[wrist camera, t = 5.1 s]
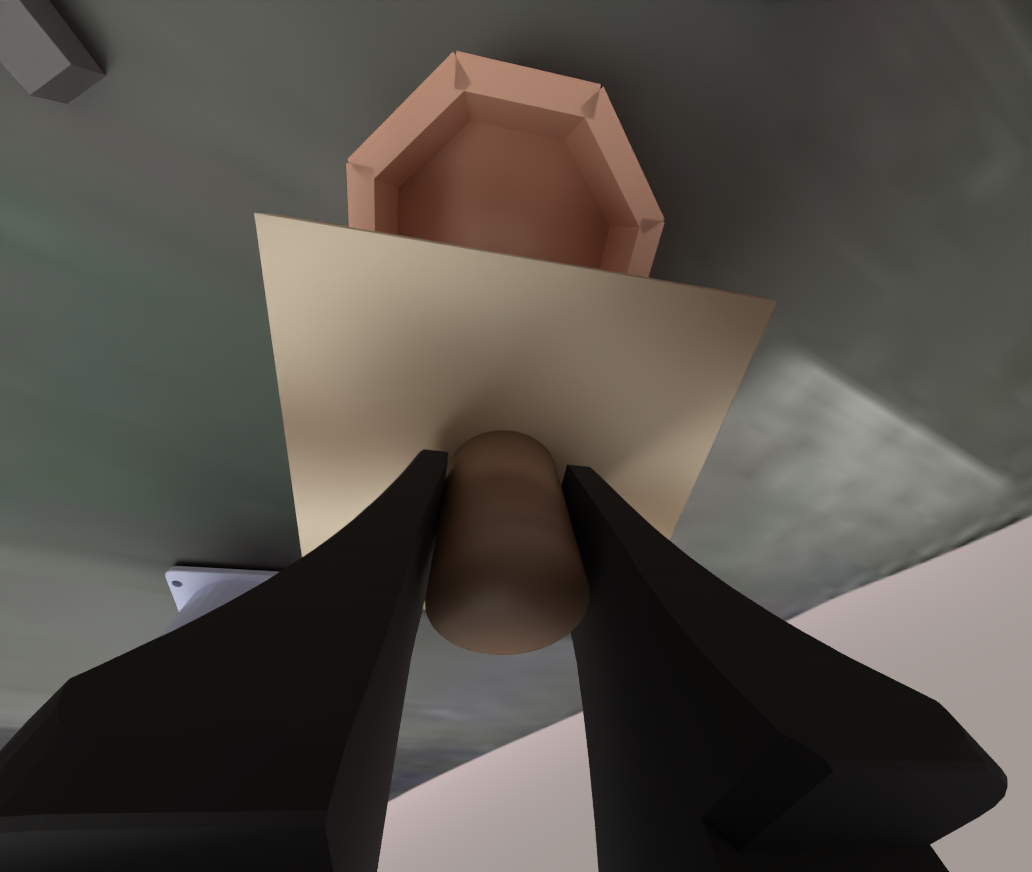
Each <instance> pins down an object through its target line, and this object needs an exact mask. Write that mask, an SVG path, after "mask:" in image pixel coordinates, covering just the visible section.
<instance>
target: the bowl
mask: <svg viewBox="0 0 1032 872" xmlns="http://www.w3.org/2000/svg"><path fill="white" fill-rule="evenodd" d="M600 86H601V84H598V83H593V82H589V81H585V80H580V79H576V78H572V77H567V76H563V75H559V74H554V73H550V72H546V71H541V70H537V69H533V68H528V67H524V66H520V65H515V64H511V63H507V62H503V61H498V60H494V59H490V58H485V57H481V56H477V55H472V54H468V53H464V52H459V51H456V56H455V54H454V52H452V53H451V54H450V55H449V56H448V57H447V58H446V59H445V60H444V61H443V63H442V64H441V65H440V66H439V67H438V68H437V69H436V70H435V71H434V72H433V73H432V74H431V75H430V76H429V77H428V78H427V79H426V80H425V81H424V82H423V83H422V84H421V85H420V86H419V87H418V88H417V89H416V90H415V91H414V92H413V93H412V94H411V95H410V96H409V97H408V98H407V99H406V100H405V101H404V102H403V103H402V104H401V105H400V106H399V107H398V108H397V109H396V110H395V111H394V112H393V113H392V114H391V115H390V116H389V117H388V118H387V119H386V120H385V121H384V123H383V124H382V125H381V126H380V127H379V128H378V129H377V130H376V131H375V132H374V133H373V134H372V135H371V136H370V137H369V138H368V139H367V140H366V141H365V142H364V143H363V144H362V145H361V146H360V147H359V148H358V149H357V150H356V151H355V152H354V153H353V154H352V155H351V156H350V157H349V158H348V159H347V160H348V161H349V162H350V163H346V168H347V191H348V214H349V227H354V228H360V229H366V230H372V231H378V232H384V233H390V234H396V235H402V236H407V237H413V238H419V239H425V240H431V241H437V242H443V243H449V244H455V245H461V246H466V247H472V248H478V249H484V250H490V251H496V252H502V253H508V254H514V255H519V256H525V257H531V258H537V259H543V260H549V261H555V262H561V263H567V264H573V265H578V266H584V267H590V268H596V269H602V270H608V271H614V272H620V273H626V274H631V275H637V276H643V277H649V274H650V270H651V267H652V264H653V260H654V257H655V253H656V250H657V247H658V243H659V240H660V236H661V233H662V230H663V226H664V223H665V222H661V221H663V220H664V217H663V215H662V212H661V210H660V208H659V206H658V204H657V202H656V199H655V197H654V195H653V193H652V191H651V189H650V186H649V184H648V182H647V180H646V178H645V176H644V173H643V171H642V169H641V167H640V165H639V163H638V160H637V158H636V156H635V154H634V152H633V150H632V147H631V145H630V143H629V141H628V139H627V137H626V134H625V132H624V130H623V128H622V126H621V124H620V121H619V119H618V117H617V115H616V113H615V111H614V108H613V106H612V104H611V102H610V100H609V98H608V95H607V93H606V91H605V89H604V87H602V88H601V89H600Z"/></svg>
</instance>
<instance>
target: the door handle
mask: <svg viewBox="0 0 1032 872" xmlns="http://www.w3.org/2000/svg"><path fill="white" fill-rule="evenodd" d="M0 62H1V63H2V64H3V65H4V66H5V68H6V69H7V70H8V71H9V72H10V73H11V74H12V76H13V77H14V78H15V79H16V80H17V81H18V82H19V83H20V85H21V86H22V87H23V88H24V89H25V90H26V91H27V93H28V94H29V95H31V96H36V97H40V98H45V99H49V100H54V101H58V102H63V103H68V102H70V101H71V100H73V99H74V98H75V97H77V96H78V95H80V94H81V93H82V92H84V91H85V90H86V89H88V88H89V87H91V86H92V85H93V84H95V83H96V82H98V81H99V80H100V79H102V78H103V77H104V76H106V75H105V74H104V73H103V71H102V70H101V69H100V67H99V66H98V65H97V63H96V62H95V61H94V59H93V58H92V57H91V55H90V54H89V53H88V51H87V50H86V49H85V47H84V46H83V45H82V43H81V42H80V41H79V39H78V38H77V37H76V35H75V34H74V33H73V31H72V30H71V29H70V27H69V26H68V25H67V23H66V22H65V21H64V19H63V18H62V17H61V15H60V14H59V13H58V11H57V10H56V9H55V7H54V6H53V5H52V3H51V2H50V1H49V0H0Z"/></svg>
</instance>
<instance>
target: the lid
mask: <svg viewBox="0 0 1032 872" xmlns="http://www.w3.org/2000/svg"><path fill="white" fill-rule="evenodd" d="M254 215H255V222H256V229H257V236H258V244H259V251H260V258H261V265H262V272H263V280H264V287H265V294H266V301H267V308H268V316H269V323H270V330H271V337H272V344H273V351H274V359H275V366H276V373H277V380H278V387H279V395H280V402H281V409H282V416H283V423H284V431H285V438H286V445H287V452H288V459H289V467H290V474H291V481H292V488H293V495H294V503H295V510H296V517H297V524H298V531H299V538H300V546H301V553H302V557H303V556H305V555H306V554H308V553H309V552H311V551H312V550H314V549H315V548H316V547H318V546H319V545H321V544H322V543H323V542H325V541H326V540H327V539H329V538H330V537H331V536H333V535H334V534H335V533H337V532H338V531H339V530H341V529H342V528H343V527H344V526H346V525H347V524H348V523H349V522H350V521H352V520H353V519H354V518H355V517H356V516H357V515H359V514H360V513H361V512H362V511H363V510H364V509H365V508H366V507H368V506H369V505H370V504H371V503H372V502H373V501H374V500H376V499H377V498H378V497H379V496H380V495H381V494H382V493H383V492H384V491H385V490H386V489H387V488H388V487H389V486H390V485H391V484H392V483H393V482H394V481H395V480H396V479H397V478H398V476H399V475H400V474H401V473H402V472H403V471H404V470H405V469H406V468H407V466H408V465H409V464H410V463H411V462H412V461H413V459H414V458H415V457H416V456H417V454H418V453H419V452H420V451H422V450H423V449H426V450H435V451H445V452H448V462H447V472H446V482H445V488H444V494H443V500H442V505H441V510H440V515H439V521H438V527H437V533H436V539H435V545H434V550H433V556H432V562H431V568H430V574H429V580H428V586H427V591H426V597H425V602H424V606H423V609H426V613H427V616H428V618H429V621H430V623H431V624H432V626H433V627H434V628H435V629H436V631H437V632H438V633H439V634H440V635H442V636H443V637H444V638H445V639H447V640H448V641H450V642H452V643H453V644H455V645H457V646H459V647H462V648H465V649H467V650H470V651H474V652H478V653H484V654H493V655H511V654H520V653H526V652H530V651H534V650H538V649H541V648H544V647H546V646H548V645H551V644H553V643H555V642H557V641H558V640H560V639H562V638H563V637H565V636H566V635H568V634H569V633H570V632H571V631H572V630H573V629H575V628H576V626H577V625H578V624H579V623H580V622H581V620H582V619H583V617H584V616H585V614H586V611H587V609H588V606H589V602H590V589H589V584H588V581H587V577H586V574H585V570H584V566H583V563H582V559H581V556H580V552H579V548H578V545H577V541H576V538H575V534H574V530H573V527H572V523H571V520H570V516H569V512H568V509H567V505H566V502H565V498H564V494H563V491H562V487H561V485H562V481H563V477H564V474H565V470H566V466H567V464H568V465H577V466H587V467H591V468H592V469H593V470H594V471H595V472H596V473H597V474H599V475H600V476H601V477H602V478H603V479H604V480H605V481H606V482H607V483H608V484H609V485H610V486H611V487H612V488H613V489H614V490H615V491H616V492H617V493H618V494H619V495H620V496H621V497H622V498H623V499H624V500H625V501H626V502H627V503H628V504H629V505H630V506H632V507H633V508H634V509H635V510H636V511H637V512H638V513H639V514H640V515H641V516H642V517H643V518H644V519H645V520H647V521H648V522H649V523H650V524H651V525H652V526H653V527H654V528H655V529H657V530H658V531H659V532H660V533H661V534H662V535H664V536H665V537H666V538H667V539H668V540H670V538H671V535H672V533H673V531H674V529H675V527H676V524H677V522H678V520H679V518H680V516H681V513H682V511H683V509H684V507H685V504H686V502H687V500H688V498H689V496H690V493H691V491H692V489H693V487H694V485H695V482H696V480H697V478H698V476H699V474H700V471H701V469H702V467H703V465H704V463H705V460H706V458H707V456H708V454H709V452H710V449H711V447H712V445H713V443H714V440H715V438H716V436H717V434H718V432H719V429H720V427H721V425H722V423H723V421H724V418H725V416H726V414H727V412H728V410H729V407H730V405H731V403H732V401H733V399H734V396H735V394H736V392H737V390H738V388H739V385H740V383H741V381H742V379H743V376H744V374H745V372H746V370H747V368H748V365H749V363H750V361H751V359H752V357H753V354H754V352H755V350H756V348H757V346H758V343H759V341H760V339H761V337H762V335H763V332H764V330H765V328H766V326H767V323H768V321H769V319H770V317H771V315H772V312H773V310H774V308H775V306H776V304H777V301H775V300H771V299H767V298H763V297H759V296H755V295H749V294H743V293H738V292H732V291H726V290H720V289H714V288H708V287H702V286H696V285H690V284H685V283H679V282H673V281H667V280H661V279H655V278H649V277H643V276H637V275H631V274H626V273H620V272H614V271H608V270H602V269H596V268H590V267H584V266H578V265H573V264H567V263H561V262H555V261H549V260H543V259H537V258H531V257H525V256H519V255H514V254H508V253H502V252H496V251H490V250H484V249H478V248H472V247H466V246H461V245H455V244H449V243H443V242H437V241H431V240H425V239H419V238H413V237H407V236H402V235H396V234H390V233H384V232H378V231H372V230H366V229H360V228H354V227H349V226H343V225H337V224H331V223H325V222H319V221H313V220H307V219H301V218H295V217H290V216H284V215H278V214H266V213H254Z"/></svg>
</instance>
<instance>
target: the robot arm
mask: <svg viewBox="0 0 1032 872" xmlns="http://www.w3.org/2000/svg"><path fill="white" fill-rule="evenodd" d="M447 462H448V452H445V451H435V450H426V449H423V450H422V451H420V452H419V453H418V454H417V456H416V457H415V458H414V459H413V461H412V462H411V463H410V464H409V465H408V466H407V468H406V469H405V470H404V471H403V472H402V473H401V474H400V475H399V476H398V478H397V479H396V480H395V481H394V482H393V483H392V484H391V485H390V486H389V487H388V488H387V489H386V490H385V491H384V492H383V493H382V494H381V495H380V496H379V497H378V498H377V499H376V500H374V501H373V502H372V503H371V504H370V505H369V506H368V507H366V508H365V509H364V510H363V511H362V512H361V513H360V514H359V515H357V516H356V517H355V518H354V519H353V520H352V521H350V522H349V523H348V524H347V525H346V526H344V527H343V528H342V529H341V530H339V531H338V532H337V533H335V534H334V535H333V536H331V537H330V538H329V539H327V540H326V541H325V542H323V543H322V544H321V545H319V546H318V547H316V548H315V549H314V550H312V551H311V552H309V553H308V554H306V555H305V556H303V557H302V558H300V559H299V560H297V561H296V562H294V563H293V564H291V565H290V566H288V567H287V568H285V569H283V570H282V571H280V572H278V571H260V570H242V569H224V568H206V567H187V566H173V567H171V568H170V569H169V570H168V571H167V572H166V573H165V577H166V579H167V582H168V584H169V587H170V590H171V592H172V595H173V597H174V600H175V603H176V605H177V608H178V610H179V613H178V614H177V615H176V617H175V618H174V619H173V620H172V622H171V623H170V624H169V625H168V627H167V628H166V629H165V630H164V632H163V633H162V634H161V635H160V637H158V638H156V639H154V640H152V641H150V642H148V643H146V644H144V645H141V646H139V647H137V648H135V649H133V650H131V651H129V652H127V653H124V654H122V655H120V656H118V657H116V658H114V659H112V660H110V661H108V662H105V663H103V664H101V665H99V666H97V667H95V668H92V669H90V670H88V671H86V672H84V673H81V674H79V675H77V676H75V677H72V678H70V679H69V680H68V681H67V682H66V683H65V684H64V685H63V686H62V687H61V688H60V689H59V690H58V691H57V692H56V693H55V694H54V695H53V696H52V697H51V698H50V699H49V700H48V701H47V702H46V703H45V704H44V705H43V706H42V707H41V708H40V709H39V710H38V711H37V712H36V713H35V714H34V715H33V716H32V717H31V718H30V719H29V720H28V721H27V722H26V723H25V724H24V725H23V726H22V728H21V729H20V730H19V731H18V732H17V733H16V734H15V735H14V736H13V737H12V739H11V740H10V741H9V742H8V743H7V744H6V745H5V746H4V747H3V748H2V750H1V751H0V872H377V868H378V862H379V855H380V849H381V841H382V836H383V829H384V823H385V816H386V810H387V804H388V798H389V791H390V785H391V779H392V772H393V766H394V759H395V753H396V747H397V741H398V735H399V729H400V722H401V716H402V710H403V704H404V698H405V692H406V686H407V680H408V674H409V667H410V661H411V656H412V651H413V647H414V642H415V637H416V633H417V629H418V626H419V622H420V618H421V614H422V610H423V606H424V602H425V597H426V591H427V586H428V580H429V574H430V568H431V562H432V556H433V550H434V545H435V539H436V533H437V527H438V521H439V515H440V510H441V505H442V500H443V494H444V488H445V482H446V472H447ZM561 487H562V491H563V494H564V498H565V502H566V505H567V509H568V512H569V516H570V520H571V523H572V527H573V530H574V534H575V538H576V541H577V545H578V548H579V552H580V556H581V559H582V563H583V566H584V570H585V574H586V577H587V581H588V584H589V589H590V602H589V606H588V609H587V611H586V614H585V616H584V617H583V619H582V620H581V622H580V623H579V624H578V625H577V626H576V628H575V629H573V630H572V631H571V636H572V641H573V645H574V650H575V656H576V661H577V667H578V675H579V682H580V690H581V698H582V705H583V713H584V722H585V731H586V739H587V748H588V757H589V767H590V777H591V788H592V798H593V808H594V819H595V831H596V842H597V843H596V844H597V856H598V868H599V869H598V870H599V872H949V871H948V870H947V868H946V867H945V865H944V864H943V863H942V861H941V860H940V858H939V857H938V855H937V854H936V853H935V851H934V850H933V848H932V847H931V846H930V844H932V843H933V842H935V841H937V840H939V839H941V838H942V837H944V836H946V835H948V834H950V833H951V832H953V831H955V830H957V829H958V828H960V827H962V826H964V825H965V824H967V823H969V822H971V821H973V820H974V819H976V818H978V817H980V816H981V815H982V814H984V813H985V812H987V811H989V810H990V809H992V808H993V807H994V806H996V804H997V803H998V802H999V801H1000V800H1001V799H1002V798H1003V797H1004V796H1005V793H1006V790H1007V776H1006V775H1005V774H1004V772H1003V770H1002V769H1001V768H1000V767H999V766H998V765H997V763H996V762H995V761H994V760H993V759H992V758H991V757H990V756H989V755H988V754H987V753H986V752H985V751H984V750H983V748H981V746H980V745H979V744H978V743H977V742H976V741H975V740H974V739H973V738H972V737H971V736H970V734H969V733H968V732H967V731H966V730H965V729H964V728H963V727H962V726H961V725H960V724H959V723H958V722H957V721H956V719H955V718H954V717H953V716H952V715H951V714H950V713H949V712H948V711H947V710H946V709H945V708H944V707H943V706H942V705H941V704H940V703H938V702H937V701H936V700H934V699H931V698H929V697H928V696H926V695H924V694H922V693H920V692H918V691H916V690H914V689H912V688H910V687H908V686H906V685H904V684H901V683H900V682H898V681H896V680H894V679H891V678H890V677H888V676H886V675H884V674H882V673H880V672H877V671H875V670H873V669H872V668H870V667H868V666H865V665H864V664H862V663H859V662H858V661H855V660H853V659H852V658H849V657H848V656H846V655H844V654H842V653H840V652H838V651H837V650H835V649H833V648H831V647H830V646H828V645H826V644H824V643H822V642H821V641H819V640H817V639H815V638H813V637H812V636H810V635H808V634H806V633H804V632H802V631H801V630H799V629H797V628H796V627H794V626H792V625H791V624H789V623H787V622H786V621H784V620H782V619H781V618H779V617H777V616H776V615H774V614H772V613H771V612H769V611H767V610H766V609H764V608H763V607H761V606H760V605H758V604H757V603H755V602H753V601H752V600H750V599H749V598H747V597H746V596H744V595H743V594H741V593H739V592H738V591H736V590H735V589H733V588H732V587H730V586H729V585H728V584H726V583H725V582H723V581H722V580H720V579H719V578H717V577H716V576H715V575H713V574H712V573H711V572H709V571H708V570H707V569H705V568H704V567H703V566H701V565H700V564H698V563H697V562H696V561H694V560H693V559H692V558H690V557H689V556H688V555H687V554H685V553H684V552H683V551H682V550H680V549H679V548H678V547H677V546H675V545H674V544H673V543H672V542H671V541H670V540H668V539H667V538H666V537H665V536H664V535H662V534H661V533H660V532H659V531H658V530H657V529H655V528H654V527H653V526H652V525H651V524H650V523H649V522H648V521H647V520H645V519H644V518H643V517H642V516H641V515H640V514H639V513H638V512H637V511H636V510H635V509H634V508H633V507H632V506H630V505H629V504H628V503H627V502H626V501H625V500H624V499H623V498H622V497H621V496H620V495H619V494H618V493H617V492H616V491H615V490H614V489H613V488H612V487H611V486H610V485H609V484H608V483H607V482H606V481H605V480H604V479H603V478H602V477H601V476H600V475H599V474H597V473H596V472H595V471H594V470H593V469H592V468H591V467H587V466H577V465H568V464H567V466H566V470H565V474H564V477H563V481H562V485H561Z"/></svg>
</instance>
